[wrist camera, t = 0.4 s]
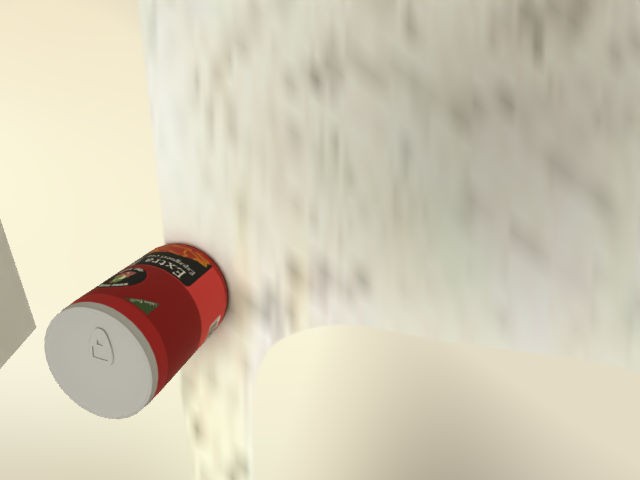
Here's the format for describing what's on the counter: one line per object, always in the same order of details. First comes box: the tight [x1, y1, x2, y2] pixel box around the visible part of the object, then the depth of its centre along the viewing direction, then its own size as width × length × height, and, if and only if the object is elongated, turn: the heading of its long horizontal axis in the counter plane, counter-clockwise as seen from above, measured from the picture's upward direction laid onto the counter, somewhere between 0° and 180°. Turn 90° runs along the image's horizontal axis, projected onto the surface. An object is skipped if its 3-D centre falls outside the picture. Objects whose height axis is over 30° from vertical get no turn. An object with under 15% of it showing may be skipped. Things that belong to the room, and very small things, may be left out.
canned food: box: [45, 244, 228, 419], centre depth 38 cm, size 8×8×11 cm
